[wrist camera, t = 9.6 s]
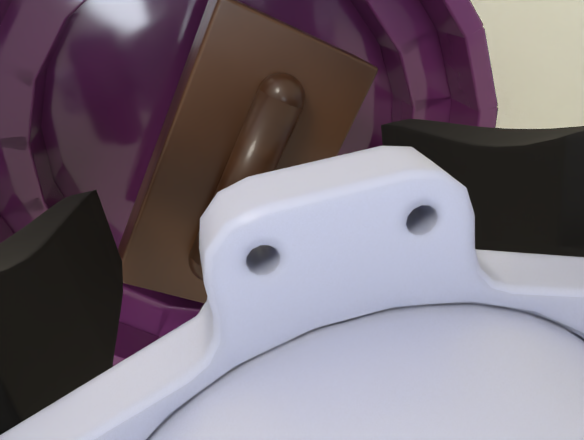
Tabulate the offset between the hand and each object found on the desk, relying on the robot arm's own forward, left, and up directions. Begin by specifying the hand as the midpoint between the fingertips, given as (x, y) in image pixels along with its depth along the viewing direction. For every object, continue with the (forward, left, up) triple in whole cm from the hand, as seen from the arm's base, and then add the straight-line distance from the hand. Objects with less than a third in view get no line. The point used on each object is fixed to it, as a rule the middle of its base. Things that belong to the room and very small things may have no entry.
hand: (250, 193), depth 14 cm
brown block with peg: (0, 0, -5) cm, 5 cm away
